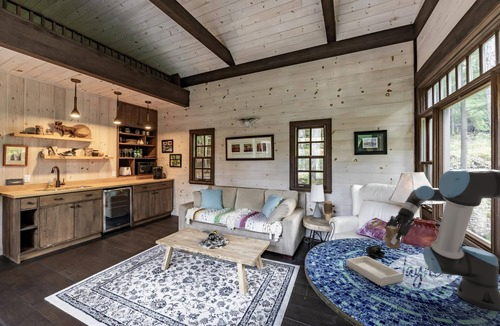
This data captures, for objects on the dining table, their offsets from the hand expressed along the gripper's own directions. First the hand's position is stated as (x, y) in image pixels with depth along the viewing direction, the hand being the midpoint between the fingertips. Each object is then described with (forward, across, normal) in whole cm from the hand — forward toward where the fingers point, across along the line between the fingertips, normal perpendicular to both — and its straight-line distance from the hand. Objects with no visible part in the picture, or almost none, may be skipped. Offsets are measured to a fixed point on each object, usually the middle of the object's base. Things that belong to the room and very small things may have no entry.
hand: (388, 241), depth 127 cm
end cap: (+6, +19, -20) cm, 28 cm away
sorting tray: (+20, +1, -4) cm, 21 cm away
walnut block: (0, 0, -5) cm, 5 cm away
